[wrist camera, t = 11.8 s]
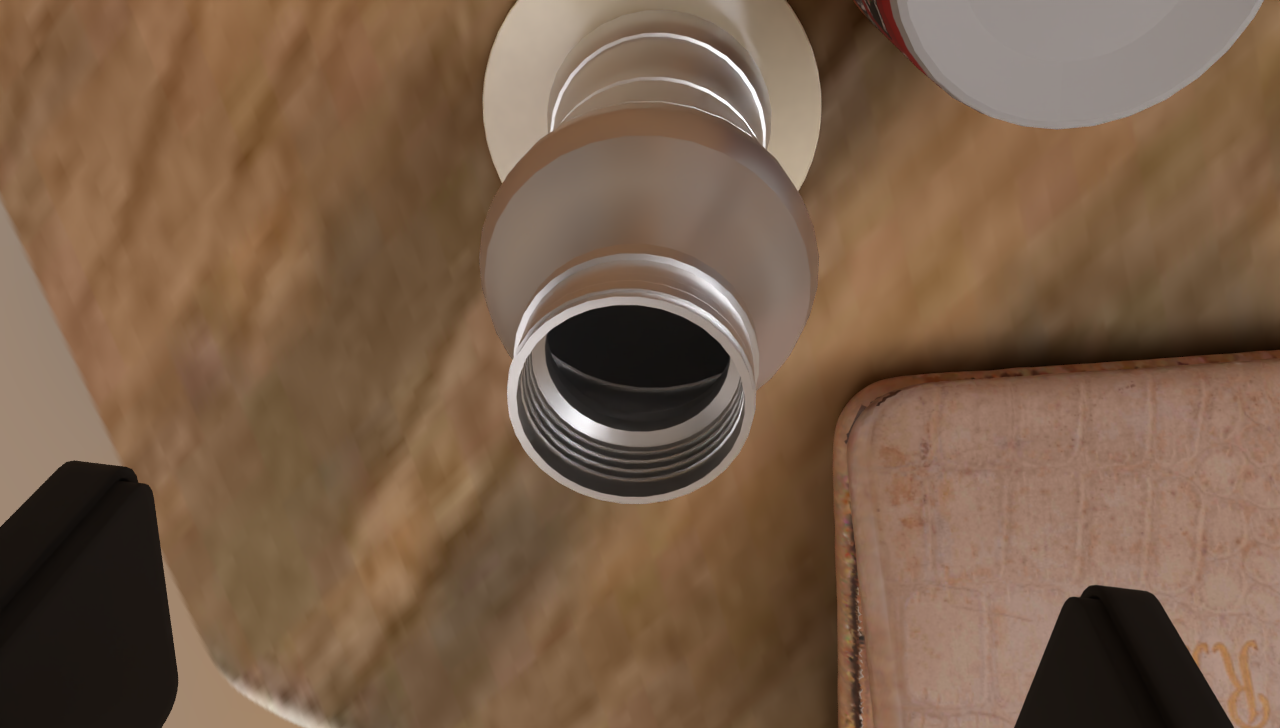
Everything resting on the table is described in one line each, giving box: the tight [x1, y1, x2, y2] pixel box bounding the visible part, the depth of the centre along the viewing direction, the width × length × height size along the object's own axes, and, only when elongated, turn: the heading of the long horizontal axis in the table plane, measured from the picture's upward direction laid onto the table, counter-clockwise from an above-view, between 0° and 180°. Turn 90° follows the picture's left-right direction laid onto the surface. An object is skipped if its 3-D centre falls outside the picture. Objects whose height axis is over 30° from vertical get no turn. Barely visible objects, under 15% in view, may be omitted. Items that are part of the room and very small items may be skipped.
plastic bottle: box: [479, 10, 819, 504], centre depth 24 cm, size 6×7×20 cm
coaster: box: [482, 0, 822, 191], centre depth 33 cm, size 11×11×1 cm
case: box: [833, 350, 1280, 728], centre depth 34 cm, size 20×21×16 cm
